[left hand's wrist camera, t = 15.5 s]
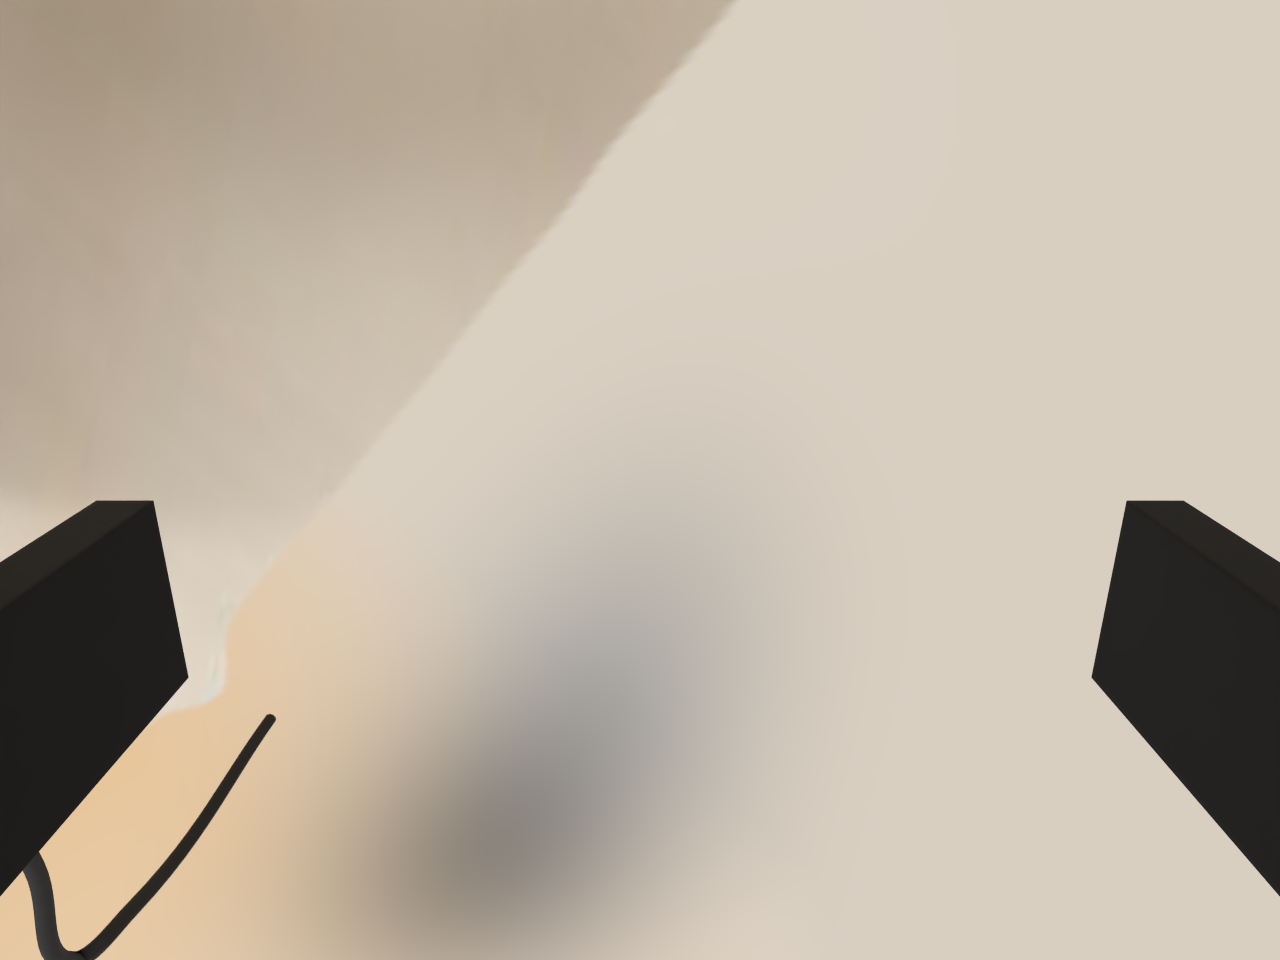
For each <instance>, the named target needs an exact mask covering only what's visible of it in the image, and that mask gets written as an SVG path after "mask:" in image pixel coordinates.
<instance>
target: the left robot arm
mask: <svg viewBox="0 0 1280 960" xmlns="http://www.w3.org/2000/svg"><path fill="white" fill-rule="evenodd" d="M187 679H188V673H187V668H186V663H185V658H184V653H183V648H182V643H181V637H180V632H179V627H178V622H177V617H176V612H175V607H174V602H173V597H172V592H171V587H170V582H169V577H168V572H167V567H166V562H165V557H164V552H163V547H162V542H161V537H160V532H159V527H158V522H157V517H156V512H155V507H154V502H153V501H95V502H94V503H92V504H91V505H89V506H87V507H86V508H84V509H83V510H81V511H80V512H78V513H77V514H75V515H73V516H72V517H70V518H69V519H67V520H66V521H64V522H62V523H61V524H59V525H58V526H56V527H55V528H53V529H52V530H50V531H48V532H47V533H45V534H44V535H42V536H41V537H39V538H38V539H36V540H34V541H33V542H31V543H30V544H28V545H27V546H25V547H23V548H22V549H20V550H19V551H17V552H16V553H14V554H13V555H11V556H9V557H8V558H6V559H5V560H3V561H2V562H0V896H1V895H2V894H3V892H4V891H5V890H6V889H7V888H8V887H9V886H10V884H11V883H12V882H13V881H14V880H15V879H16V877H17V876H18V875H19V874H20V873H21V872H22V870H23V872H24V874H25V876H26V879H27V881H28V884H29V887H30V891H31V896H32V901H33V909H34V918H35V927H36V935H37V942H38V946H39V950H40V952H41V955H42V957H43V958H44V960H95V959H97V958H98V957H99V956H100V955H101V954H102V953H103V952H104V951H105V950H106V949H107V948H108V947H109V946H110V945H111V944H112V943H113V942H114V941H115V940H116V938H117V937H118V936H119V935H120V934H121V933H122V931H123V930H124V929H125V928H126V927H127V926H128V924H129V923H130V922H131V921H132V920H133V919H134V918H135V917H136V916H137V914H138V913H139V912H140V911H141V910H142V909H143V908H144V907H145V906H146V904H147V903H148V902H149V901H150V900H151V899H152V898H153V897H154V896H155V894H156V893H157V892H158V891H159V890H160V888H161V887H162V886H163V885H164V884H165V882H166V881H167V880H168V879H169V878H170V877H171V875H172V874H173V873H174V871H175V870H176V869H177V868H178V866H179V865H180V864H181V862H182V861H183V860H184V859H185V857H186V856H187V854H188V853H189V852H190V850H191V849H192V848H193V846H194V845H195V843H196V842H197V841H198V839H199V838H200V836H201V835H202V833H203V832H204V830H205V829H206V828H207V826H208V825H209V823H210V822H211V820H212V819H213V817H214V816H215V814H216V812H217V811H218V809H219V808H220V806H221V805H222V803H223V802H224V800H225V798H226V797H227V795H228V794H229V792H230V791H231V789H232V787H233V786H234V784H235V783H236V781H237V779H238V778H239V776H240V774H241V773H242V771H243V770H244V768H245V767H246V765H247V763H248V762H249V760H250V759H251V757H252V755H253V754H254V752H255V751H256V749H257V748H258V746H259V745H260V743H261V742H262V740H263V739H264V737H265V736H266V734H267V733H268V731H269V730H270V728H271V727H272V725H273V724H274V723H275V721H276V717H275V716H274V715H273V714H267V715H266V716H265V718H264V719H263V720H262V722H261V723H260V725H259V726H258V727H257V729H256V730H255V732H254V733H253V735H252V736H251V738H250V739H249V741H248V742H247V744H246V745H245V746H244V748H243V749H242V751H241V752H240V754H239V755H238V757H237V759H236V760H235V762H234V763H233V765H232V766H231V768H230V769H229V771H228V772H227V774H226V775H225V777H224V779H223V780H222V782H221V783H220V785H219V786H218V788H217V789H216V791H215V792H214V794H213V795H212V797H211V798H210V800H209V802H208V803H207V805H206V806H205V808H204V809H203V811H202V812H201V813H200V815H199V816H198V818H197V819H196V821H195V822H194V823H193V825H192V826H191V828H190V829H189V830H188V832H187V833H186V835H185V836H184V837H183V839H182V840H181V841H180V843H179V844H178V845H177V847H176V848H175V849H174V850H173V852H172V853H171V854H170V855H169V857H168V858H167V859H166V860H165V862H164V863H163V864H162V865H161V866H160V868H159V869H158V870H157V871H156V872H155V873H154V874H153V876H152V877H151V878H150V879H149V880H148V881H147V883H146V884H145V885H144V886H143V887H142V888H141V889H140V890H139V891H138V892H137V893H136V894H135V895H134V896H133V898H132V899H131V900H130V901H129V902H128V903H127V904H126V905H125V906H124V907H123V908H122V909H121V910H120V911H119V913H118V914H117V915H116V916H115V917H114V918H113V919H112V920H111V922H110V923H109V924H108V925H107V926H106V927H105V928H104V929H103V930H102V931H101V933H100V934H99V935H98V936H97V937H96V938H95V939H94V940H92V941H91V942H90V943H89V944H88V945H86V946H85V947H84V948H82V949H80V950H78V951H67V950H66V949H65V948H64V947H63V946H62V944H61V942H60V939H59V936H58V931H57V925H56V916H55V905H54V897H53V890H52V885H51V881H50V877H49V873H48V870H47V868H46V866H45V863H44V861H43V859H42V857H41V855H40V853H39V851H40V849H41V848H42V847H43V846H44V845H45V844H46V842H47V841H48V840H49V839H50V838H51V837H52V836H53V834H54V833H55V832H56V831H57V830H58V829H59V827H60V826H61V825H62V824H63V823H64V822H65V820H66V819H67V818H68V817H69V816H70V815H71V813H72V812H73V811H74V810H75V809H76V808H77V806H78V805H79V804H80V803H81V802H82V801H83V799H84V798H85V797H86V796H87V795H88V794H89V793H90V791H91V790H92V789H93V788H94V787H95V785H96V784H97V783H98V782H99V781H100V780H101V779H102V777H103V776H104V775H105V774H106V773H107V772H108V770H109V769H110V768H111V767H112V766H113V765H114V763H115V762H116V761H117V760H118V759H119V758H120V756H121V755H122V754H123V753H124V752H125V751H126V749H127V748H128V747H129V746H130V745H131V744H132V743H133V741H134V740H135V739H136V738H137V737H138V736H139V734H140V733H141V732H142V731H143V730H144V729H145V727H146V726H147V725H148V724H149V723H150V722H151V720H152V719H153V718H154V717H155V716H156V715H157V713H158V712H159V711H160V710H161V709H162V708H163V706H164V705H165V704H166V703H167V702H168V701H169V699H170V698H171V697H172V696H173V695H174V694H175V693H176V691H177V690H178V689H179V688H180V687H181V686H182V684H183V683H184V682H185V681H186V680H187ZM1092 679H1093V680H1094V681H1095V682H1096V683H1097V684H1098V686H1099V687H1100V688H1101V689H1102V690H1103V691H1104V692H1105V694H1106V695H1107V696H1108V697H1109V698H1110V699H1111V701H1112V702H1113V703H1114V704H1115V705H1116V706H1117V708H1118V709H1119V710H1120V711H1121V712H1122V713H1123V715H1124V716H1125V717H1126V718H1127V719H1128V720H1129V721H1130V723H1131V724H1132V725H1133V726H1134V727H1135V729H1136V730H1137V731H1138V732H1139V733H1140V734H1141V736H1142V737H1143V738H1144V739H1145V740H1146V741H1147V743H1148V744H1149V745H1150V746H1151V747H1152V748H1153V749H1154V751H1155V752H1156V753H1157V754H1158V755H1159V756H1160V758H1161V759H1162V760H1163V761H1164V762H1165V763H1166V765H1167V766H1168V767H1169V768H1170V769H1171V770H1172V771H1173V773H1174V774H1175V775H1176V776H1177V777H1178V779H1179V780H1180V781H1181V782H1182V783H1183V784H1184V786H1185V787H1186V788H1187V789H1188V790H1189V791H1190V792H1191V794H1192V795H1193V796H1194V797H1195V798H1196V799H1197V801H1198V802H1199V803H1200V804H1201V805H1202V806H1203V808H1204V809H1205V810H1206V811H1207V812H1208V813H1209V815H1210V816H1211V817H1212V818H1213V819H1214V820H1215V822H1216V823H1217V824H1218V825H1219V826H1220V827H1221V829H1222V830H1223V831H1224V832H1225V833H1226V834H1227V836H1228V837H1229V838H1230V839H1231V840H1232V841H1233V842H1234V844H1235V845H1236V846H1237V847H1238V848H1239V849H1240V851H1241V852H1242V853H1243V854H1244V855H1245V856H1246V858H1247V859H1248V860H1249V861H1250V862H1251V863H1252V864H1253V866H1254V867H1255V868H1256V869H1257V870H1258V872H1259V873H1260V874H1261V875H1262V876H1263V877H1264V878H1265V880H1266V881H1267V882H1268V883H1269V884H1270V885H1271V887H1272V888H1273V889H1274V890H1275V891H1276V892H1277V894H1278V895H1279V896H1280V562H1278V561H1277V560H1275V559H1274V558H1272V557H1271V556H1269V555H1267V554H1266V553H1264V552H1263V551H1261V550H1260V549H1258V548H1257V547H1255V546H1253V545H1252V544H1250V543H1249V542H1247V541H1246V540H1244V539H1242V538H1241V537H1239V536H1238V535H1236V534H1235V533H1233V532H1232V531H1230V530H1228V529H1227V528H1225V527H1224V526H1222V525H1221V524H1219V523H1217V522H1216V521H1214V520H1213V519H1211V518H1210V517H1208V516H1207V515H1205V514H1203V513H1202V512H1200V511H1199V510H1197V509H1196V508H1194V507H1193V506H1191V505H1189V504H1188V503H1186V502H1185V501H1127V502H1126V507H1125V512H1124V517H1123V522H1122V527H1121V532H1120V537H1119V542H1118V547H1117V552H1116V557H1115V562H1114V567H1113V572H1112V577H1111V582H1110V587H1109V592H1108V597H1107V602H1106V607H1105V612H1104V617H1103V622H1102V627H1101V632H1100V638H1099V643H1098V648H1097V653H1096V658H1095V663H1094V668H1093V673H1092Z"/></svg>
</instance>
